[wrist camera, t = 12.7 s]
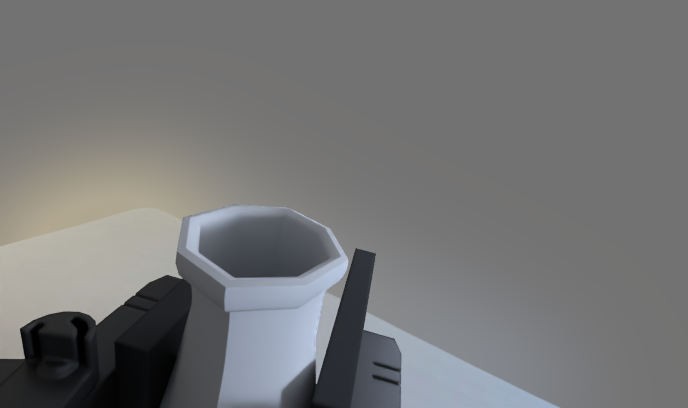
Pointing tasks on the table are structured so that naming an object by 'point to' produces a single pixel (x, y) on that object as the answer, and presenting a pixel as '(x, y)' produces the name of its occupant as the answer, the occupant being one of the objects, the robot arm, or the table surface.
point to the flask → (252, 307)
